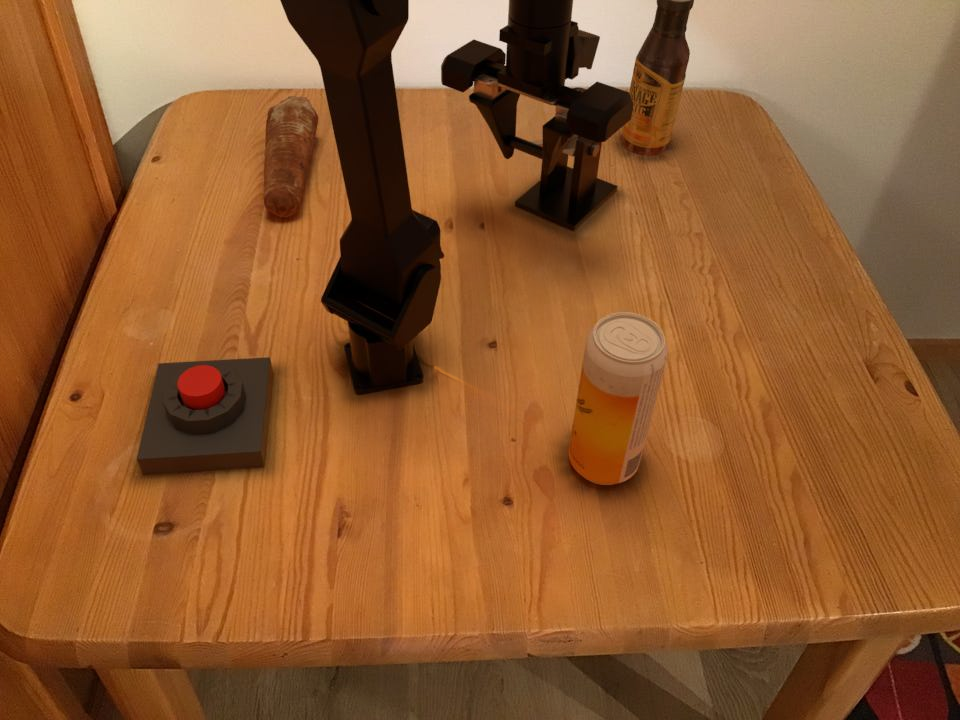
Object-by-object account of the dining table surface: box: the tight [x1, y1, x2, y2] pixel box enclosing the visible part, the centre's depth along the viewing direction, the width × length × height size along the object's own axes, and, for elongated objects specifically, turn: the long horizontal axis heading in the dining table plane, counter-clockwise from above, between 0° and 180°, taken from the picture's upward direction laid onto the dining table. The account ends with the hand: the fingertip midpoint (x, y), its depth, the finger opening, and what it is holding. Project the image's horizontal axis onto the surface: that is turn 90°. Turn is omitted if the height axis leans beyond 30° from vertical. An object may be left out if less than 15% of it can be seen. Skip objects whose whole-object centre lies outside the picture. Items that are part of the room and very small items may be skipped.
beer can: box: [568, 311, 669, 486], centre depth 68 cm, size 6×6×15 cm
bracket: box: [514, 137, 618, 232], centre depth 96 cm, size 10×8×10 cm
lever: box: [509, 135, 581, 161], centre depth 90 cm, size 12×4×2 cm, turn 145°
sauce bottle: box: [621, 0, 695, 156], centre depth 102 cm, size 7×6×20 cm
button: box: [177, 365, 225, 410], centre depth 72 cm, size 4×4×2 cm
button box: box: [136, 356, 274, 476], centre depth 74 cm, size 11×10×4 cm
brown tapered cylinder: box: [263, 95, 319, 218], centre depth 100 cm, size 6×19×6 cm, turn 2°
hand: (528, 165), depth 87 cm, fingers closed on lever, 4 cm apart
